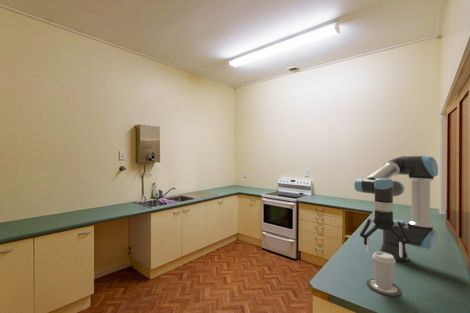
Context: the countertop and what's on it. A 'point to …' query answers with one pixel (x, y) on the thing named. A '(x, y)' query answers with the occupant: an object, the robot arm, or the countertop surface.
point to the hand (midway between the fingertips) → (383, 254)
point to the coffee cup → (383, 269)
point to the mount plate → (392, 292)
